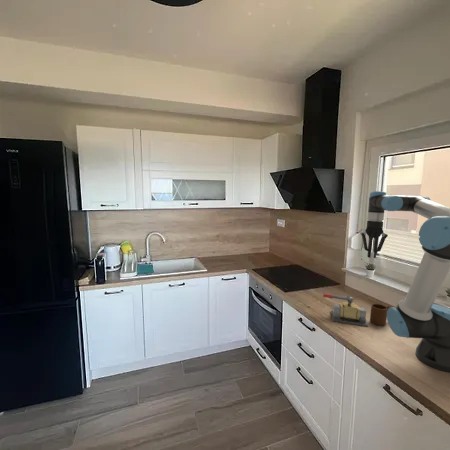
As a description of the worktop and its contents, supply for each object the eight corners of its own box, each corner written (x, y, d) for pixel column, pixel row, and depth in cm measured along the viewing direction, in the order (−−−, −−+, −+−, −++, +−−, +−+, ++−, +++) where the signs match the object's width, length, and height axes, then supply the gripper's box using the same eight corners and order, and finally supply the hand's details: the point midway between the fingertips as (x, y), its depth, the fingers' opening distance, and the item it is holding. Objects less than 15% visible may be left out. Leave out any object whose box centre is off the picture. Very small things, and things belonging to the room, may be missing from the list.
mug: (381, 317, 147) (383, 301, 146) (394, 323, 140) (396, 307, 139) (366, 320, 142) (368, 304, 141) (379, 327, 135) (381, 310, 134)
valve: (367, 326, 136) (369, 307, 134) (333, 321, 140) (335, 303, 139) (362, 316, 147) (364, 299, 146) (330, 311, 152) (332, 295, 150)
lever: (353, 299, 143) (353, 296, 143) (353, 302, 140) (354, 299, 140) (323, 295, 149) (323, 292, 149) (323, 297, 146) (323, 294, 145)
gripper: (386, 220, 138) (382, 263, 141) (360, 219, 142) (356, 260, 144) (391, 221, 131) (386, 266, 134) (363, 220, 134) (359, 264, 137)
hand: (370, 263), depth 139 cm, fingers closed
